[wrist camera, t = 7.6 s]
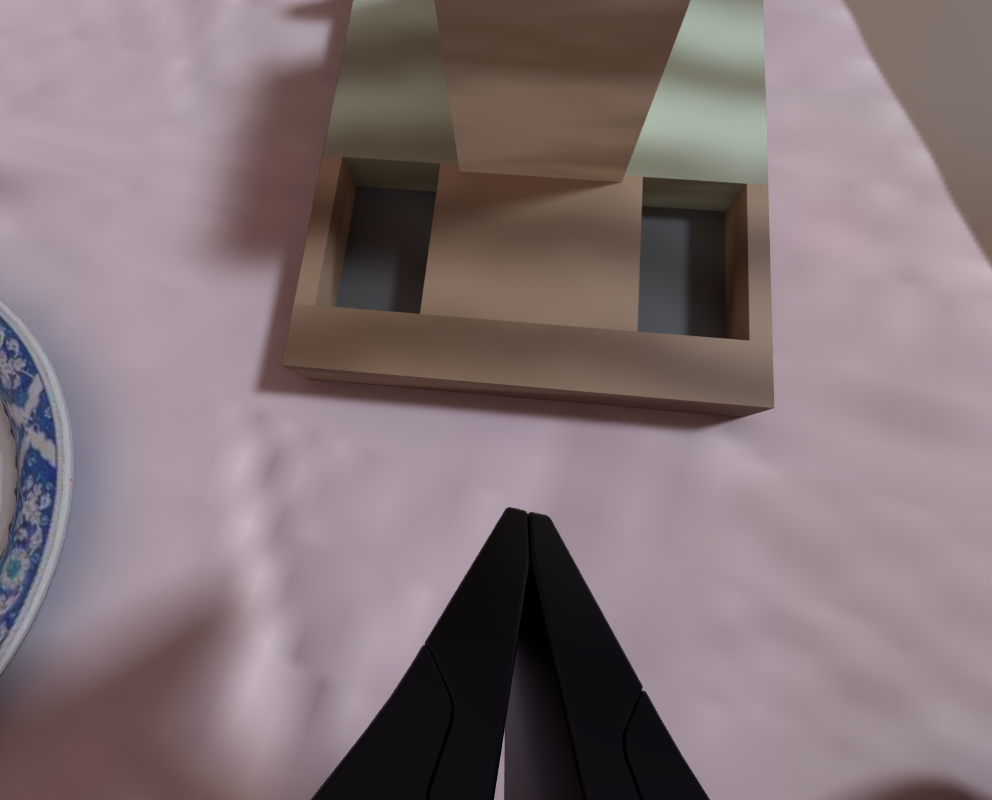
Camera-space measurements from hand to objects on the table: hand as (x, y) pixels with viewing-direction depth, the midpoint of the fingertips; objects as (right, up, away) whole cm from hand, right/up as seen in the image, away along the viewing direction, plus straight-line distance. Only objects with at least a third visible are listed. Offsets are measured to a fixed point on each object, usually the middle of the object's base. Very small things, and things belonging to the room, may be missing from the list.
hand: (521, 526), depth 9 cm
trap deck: (+2, +15, +16) cm, 22 cm away
